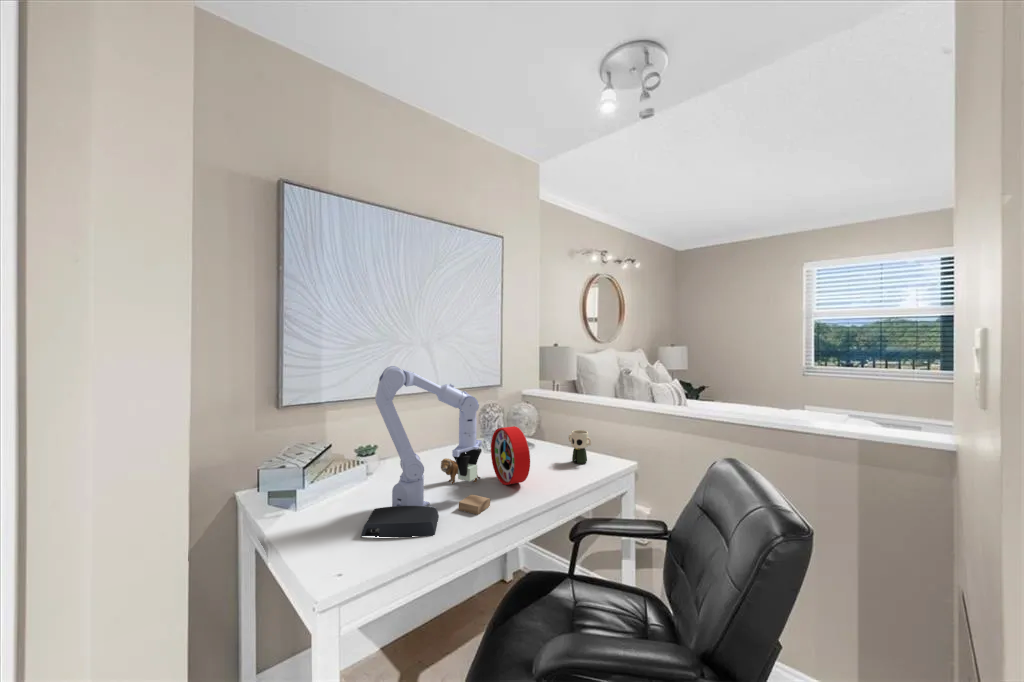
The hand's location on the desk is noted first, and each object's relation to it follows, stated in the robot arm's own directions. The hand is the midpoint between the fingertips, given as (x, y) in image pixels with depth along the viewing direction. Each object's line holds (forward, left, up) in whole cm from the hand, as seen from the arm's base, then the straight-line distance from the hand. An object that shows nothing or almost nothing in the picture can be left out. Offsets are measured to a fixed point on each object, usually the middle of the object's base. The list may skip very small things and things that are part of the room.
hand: (467, 473), depth 135 cm
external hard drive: (-25, +5, -9) cm, 27 cm away
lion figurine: (+11, +11, -9) cm, 18 cm away
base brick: (-5, -6, -8) cm, 12 cm away
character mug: (+55, -20, -9) cm, 59 cm away
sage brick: (0, 0, -2) cm, 2 cm away
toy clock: (+20, -5, -9) cm, 22 cm away
